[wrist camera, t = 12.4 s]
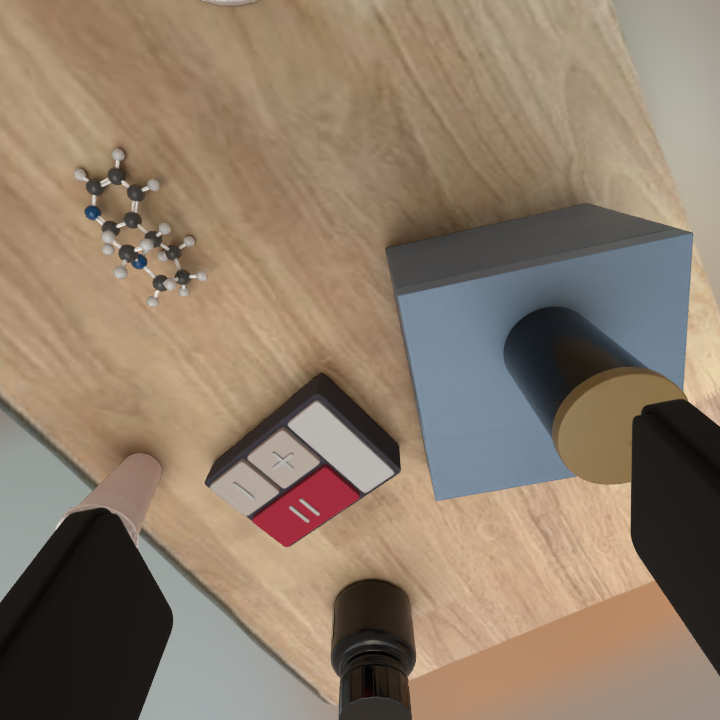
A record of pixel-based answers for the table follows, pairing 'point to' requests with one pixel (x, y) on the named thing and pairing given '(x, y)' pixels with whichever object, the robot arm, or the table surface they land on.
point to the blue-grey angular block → (508, 306)
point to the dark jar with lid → (583, 390)
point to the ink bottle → (373, 652)
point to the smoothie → (126, 492)
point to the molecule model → (134, 221)
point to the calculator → (305, 463)
